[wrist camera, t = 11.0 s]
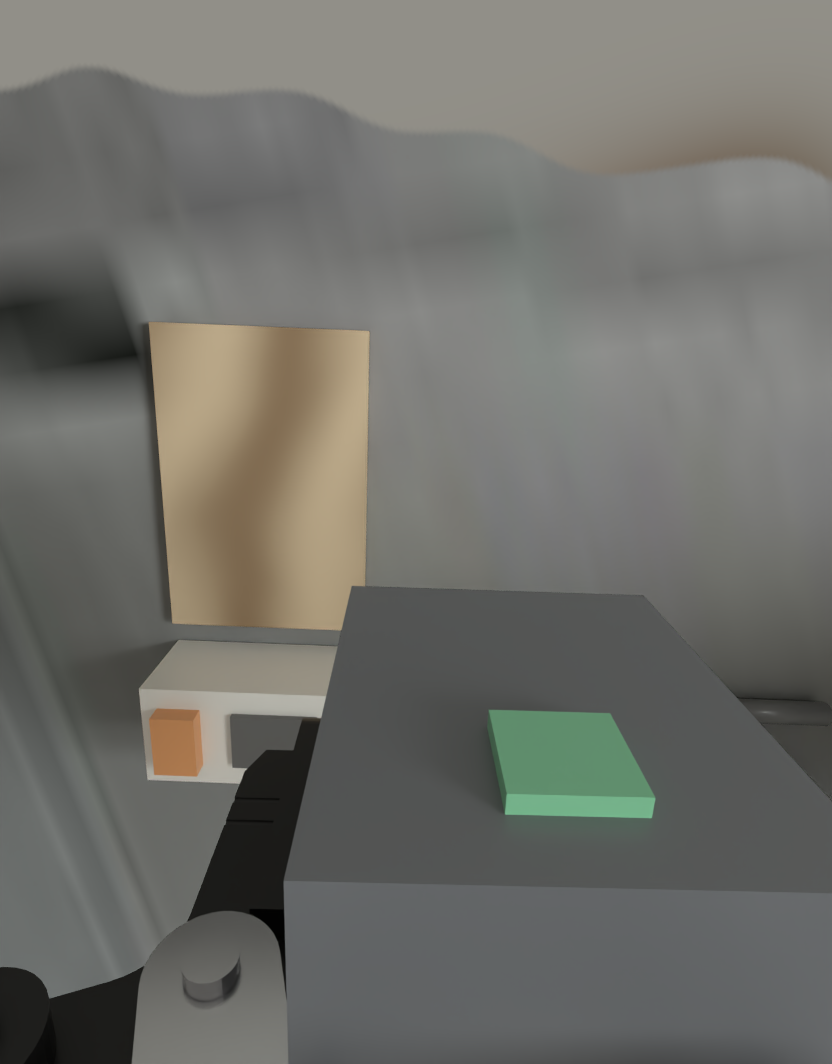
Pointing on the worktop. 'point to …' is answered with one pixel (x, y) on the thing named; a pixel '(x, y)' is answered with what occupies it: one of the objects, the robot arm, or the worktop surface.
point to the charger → (550, 847)
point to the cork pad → (262, 471)
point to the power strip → (275, 706)
